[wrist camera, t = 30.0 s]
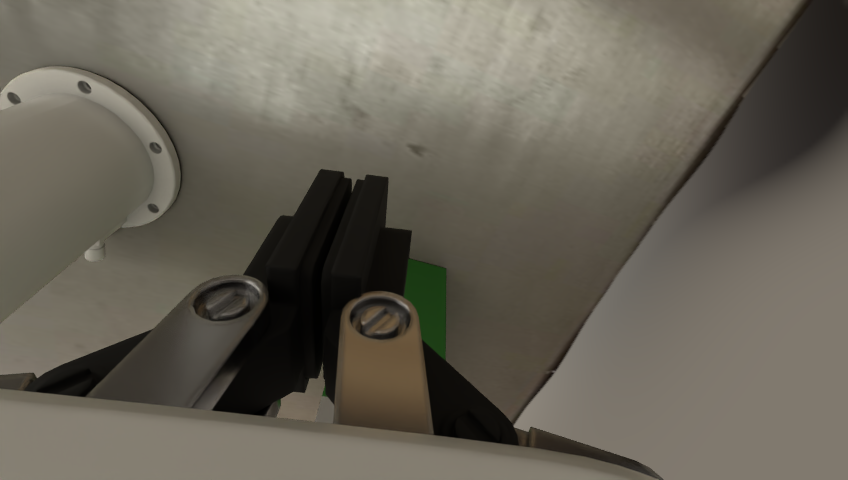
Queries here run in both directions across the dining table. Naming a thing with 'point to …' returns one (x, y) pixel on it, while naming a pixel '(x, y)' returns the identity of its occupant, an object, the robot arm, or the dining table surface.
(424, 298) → the hardback book
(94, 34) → the dining table surface
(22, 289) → the robot arm
